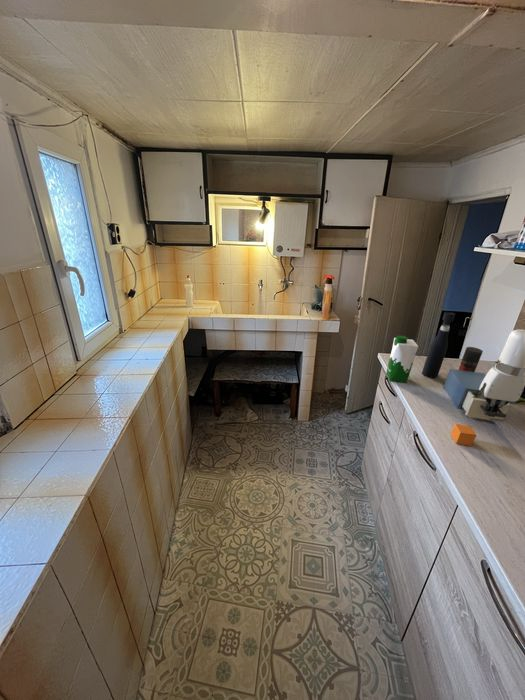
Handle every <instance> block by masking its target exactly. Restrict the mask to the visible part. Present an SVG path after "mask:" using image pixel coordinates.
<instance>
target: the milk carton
mask: <svg viewBox="0 0 525 700" xmlns="http://www.w3.org/2000/svg"><path fill="white" fill-rule="evenodd" d="M419 346H420V345H418V344H417V343H416V342H415V340H414V339H409V338H408V337H407V336H406V335H402V334H398V335H397V336H396V337H394V338H393V343H392V348H391V352H390V356H389V359H388V364H387V368H386V373H385V374H386V376H387V379H388V380H389V382H393V383H394V382H395V383H402V384H407V383H408V380H409V378H410V374H411V371H412V368H413V364H414V360H415V358H416V354H417V351H418V349H419Z"/></svg>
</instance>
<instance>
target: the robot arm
mask: <svg viewBox="0 0 525 700" xmlns="http://www.w3.org/2000/svg"><path fill="white" fill-rule="evenodd" d="M485 375H486V376H485V378H484V379H483V381H482V383H481V385H480V387H479V390H480V391H481V392H480V393H479V395H478V396H479V398H481V399H483V400H486V401H487V402H488V404H487V406H486V408H485V409H486V411H491V412H498V410H499V408H502V407H503V405H506V404H508V403H509V404H510V405H512V404H516V403H517V401H519V400H520V398H521V396H522V393H523V392H524V388H525V329H514V330H512V331H511V332H510V333H509V334H508V337H507V340H506V341H505V344H504V345H503V348H502V351H501V353H500V356H499V358H498V360H497V363H496V365H495V366H492V367H491V368H490V369H489V370H488V372H487V373H486V374H485ZM488 416H489V415H488ZM490 417H491V416H490ZM492 417H495V416H492Z"/></svg>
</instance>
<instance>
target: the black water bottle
mask: <svg viewBox="0 0 525 700" xmlns="http://www.w3.org/2000/svg"><path fill="white" fill-rule="evenodd" d="M455 316H456V313H455V312H452V311H444V313H443V317H442V319H441V320H442V321H443V322H442V325H441V326H440V328H439V329H438V331H437V335H436V336H435V337H434V339H433V340H432V342H431V343H430V347H429V350H428V352H427V355H426V358H425V362H424V365H423V368H422V371H421V374H422V376H424V377H425V378H429V379H437V378H438V376H439V374H440V371H441V368H442V365H443V362H444V359H445V357H446V354H447V350H448V346H449V340H448V339H449V338H448V336H449V333H450V330H451V329H450V328H451V327H450V326H451V323H452V322H454V319H455Z"/></svg>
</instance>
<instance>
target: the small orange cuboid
mask: <svg viewBox="0 0 525 700" xmlns="http://www.w3.org/2000/svg"><path fill="white" fill-rule="evenodd" d="M450 436H451V437H452V439H453V441H454V442H455V444H456V445H463V446H468V447H472V446H473V444H474V442H475V440H476V438H477V436H478V435H477V433H476V432H475V431H474V429H473V428H472V426H471V425H466V424H461V423H454V426H453V428H452V430H451V433H450Z"/></svg>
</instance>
